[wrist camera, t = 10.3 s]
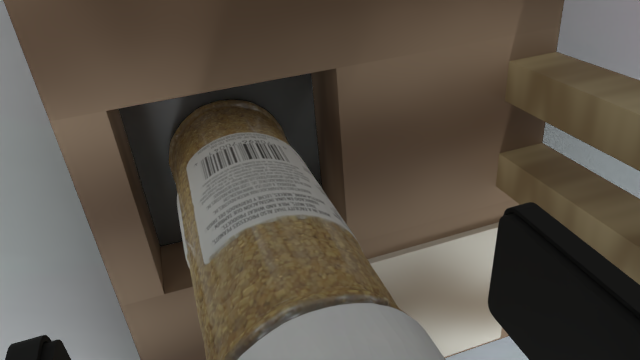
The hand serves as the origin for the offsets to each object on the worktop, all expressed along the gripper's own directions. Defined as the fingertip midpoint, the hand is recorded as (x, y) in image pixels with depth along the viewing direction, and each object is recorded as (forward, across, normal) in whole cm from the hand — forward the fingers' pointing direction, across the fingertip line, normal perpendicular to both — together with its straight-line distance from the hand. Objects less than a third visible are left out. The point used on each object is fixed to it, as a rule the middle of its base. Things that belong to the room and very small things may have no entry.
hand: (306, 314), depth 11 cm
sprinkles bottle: (+10, 0, +1) cm, 10 cm away
